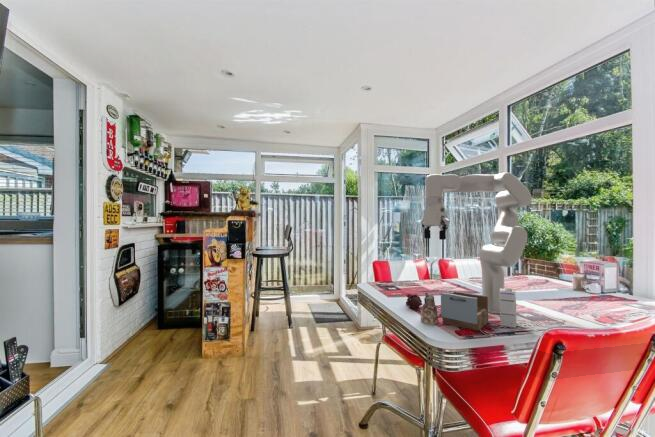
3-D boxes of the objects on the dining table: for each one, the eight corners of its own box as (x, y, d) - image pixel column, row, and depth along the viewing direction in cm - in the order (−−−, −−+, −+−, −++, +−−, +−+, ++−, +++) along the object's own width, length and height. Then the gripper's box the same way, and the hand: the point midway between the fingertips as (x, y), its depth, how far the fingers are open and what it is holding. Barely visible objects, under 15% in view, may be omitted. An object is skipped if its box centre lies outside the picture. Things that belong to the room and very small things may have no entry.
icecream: (430, 298, 140) (414, 293, 155) (416, 295, 139) (402, 291, 154) (427, 313, 139) (412, 307, 154) (413, 310, 138) (399, 304, 153)
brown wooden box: (454, 315, 135) (454, 291, 135) (488, 322, 125) (487, 296, 125) (442, 322, 125) (442, 297, 125) (477, 331, 115) (477, 303, 115)
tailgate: (442, 315, 124) (441, 292, 125) (477, 323, 115) (477, 298, 115) (440, 317, 123) (439, 293, 123) (475, 324, 113) (475, 299, 113)
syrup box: (516, 328, 118) (516, 292, 118) (499, 325, 121) (499, 290, 121) (516, 323, 123) (515, 289, 123) (500, 321, 126) (499, 287, 126)
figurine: (424, 324, 123) (423, 295, 123) (418, 318, 130) (417, 291, 130) (440, 324, 123) (440, 295, 123) (433, 318, 130) (433, 291, 131)
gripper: (455, 200, 127) (455, 239, 127) (427, 203, 143) (428, 237, 143) (442, 200, 125) (442, 240, 124) (415, 202, 141) (415, 238, 140)
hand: (434, 238), depth 134 cm, fingers open, 9 cm apart
